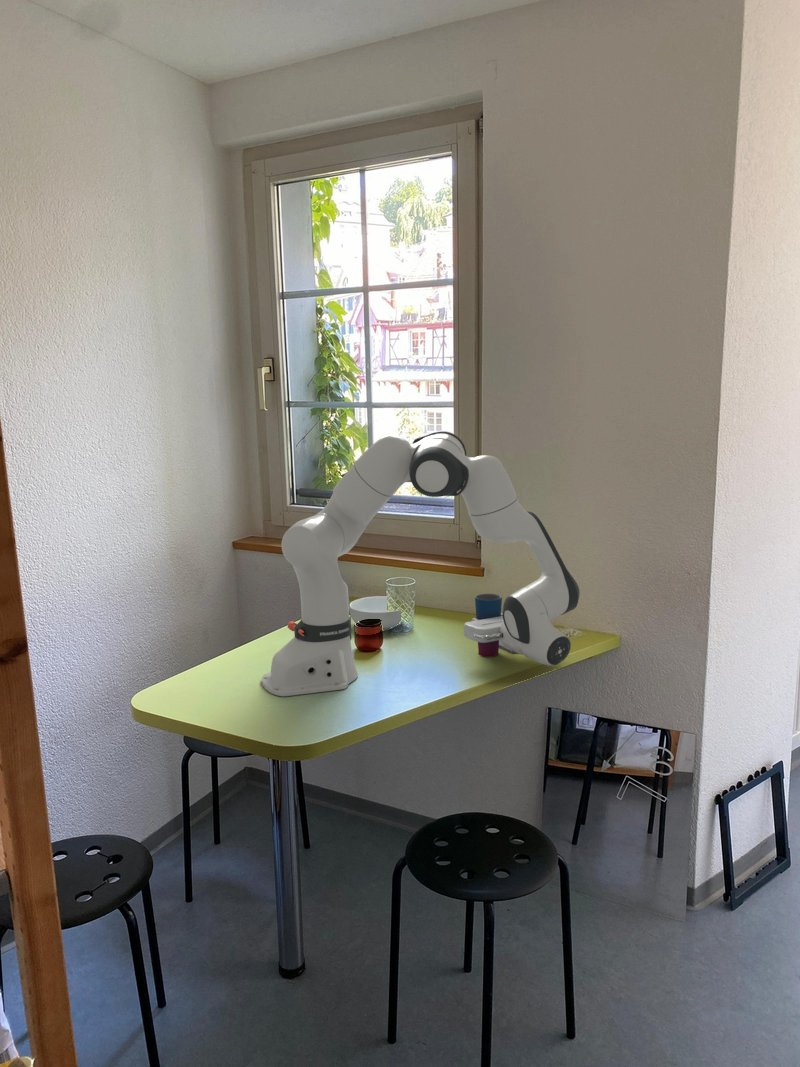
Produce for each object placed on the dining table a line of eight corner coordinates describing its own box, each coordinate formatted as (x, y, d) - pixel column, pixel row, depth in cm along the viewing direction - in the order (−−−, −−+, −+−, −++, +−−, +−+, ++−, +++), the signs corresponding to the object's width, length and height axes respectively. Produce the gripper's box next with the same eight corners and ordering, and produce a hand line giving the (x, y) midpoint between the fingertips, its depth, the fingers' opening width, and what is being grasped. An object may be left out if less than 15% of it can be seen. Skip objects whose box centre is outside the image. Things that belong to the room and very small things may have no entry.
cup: (474, 649, 207) (474, 593, 204) (500, 649, 207) (500, 593, 204) (475, 658, 200) (475, 600, 198) (503, 658, 200) (503, 600, 197)
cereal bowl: (349, 637, 220) (348, 612, 218) (350, 620, 236) (349, 596, 235) (410, 635, 220) (410, 610, 219) (408, 618, 237) (407, 595, 235)
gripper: (481, 652, 187) (451, 636, 199) (552, 638, 196) (519, 624, 208) (481, 626, 185) (451, 612, 198) (552, 614, 195) (519, 601, 207)
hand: (486, 618), depth 203 cm, fingers closed on cup, 6 cm apart
